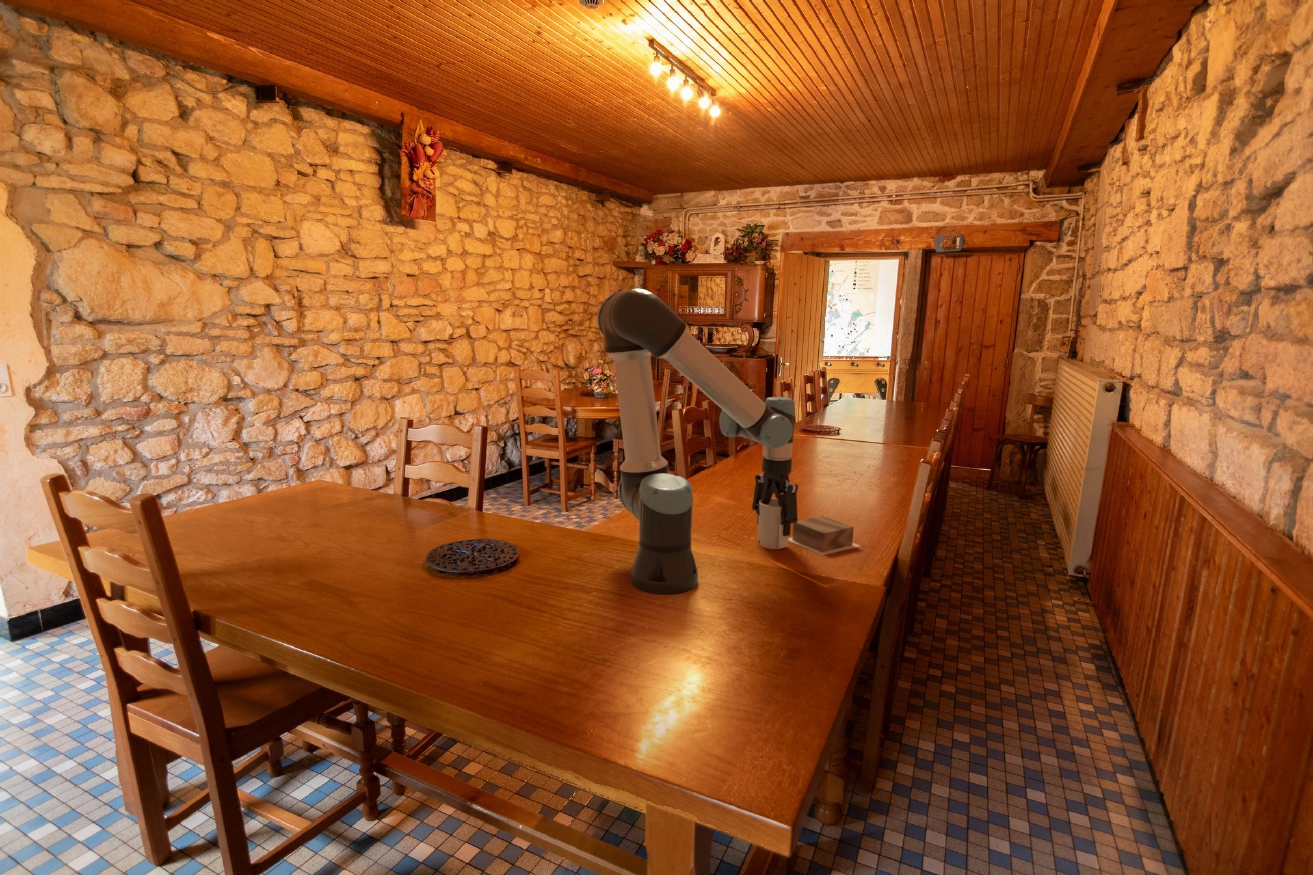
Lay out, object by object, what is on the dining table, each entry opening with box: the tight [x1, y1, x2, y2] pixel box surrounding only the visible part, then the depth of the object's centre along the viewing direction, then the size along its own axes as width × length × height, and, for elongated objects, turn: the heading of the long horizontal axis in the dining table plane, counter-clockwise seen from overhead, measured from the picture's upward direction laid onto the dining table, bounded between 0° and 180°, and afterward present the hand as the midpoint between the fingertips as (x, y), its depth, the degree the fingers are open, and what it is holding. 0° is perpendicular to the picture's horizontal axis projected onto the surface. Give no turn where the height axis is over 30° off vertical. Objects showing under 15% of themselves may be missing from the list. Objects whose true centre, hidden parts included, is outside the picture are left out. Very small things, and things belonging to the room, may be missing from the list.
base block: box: [792, 515, 854, 552], centre depth 164 cm, size 11×11×5 cm
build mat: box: [788, 536, 861, 556], centre depth 165 cm, size 14×14×1 cm
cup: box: [759, 498, 787, 550], centre depth 161 cm, size 8×8×12 cm
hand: (772, 542), depth 162 cm, fingers closed on cup, 7 cm apart
